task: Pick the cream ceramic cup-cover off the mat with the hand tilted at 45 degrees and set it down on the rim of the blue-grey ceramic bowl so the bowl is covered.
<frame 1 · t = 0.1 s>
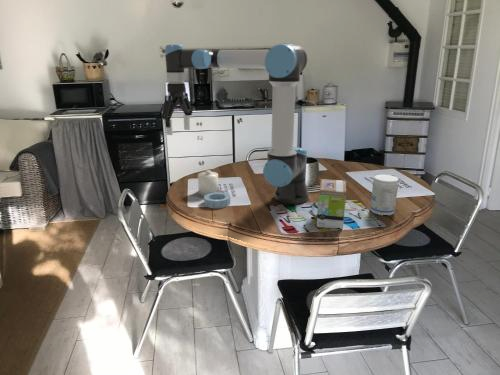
hand: (178, 132, 184), 28 cm above the table, tool pointing down, fingers open, 13 cm apart
supplement tub: (382, 212, 170), on the table
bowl: (217, 204, 177), on the table
mat: (208, 194, 190), on the table
cover: (208, 193, 189), resting on mat
tea box: (330, 221, 161), on the table
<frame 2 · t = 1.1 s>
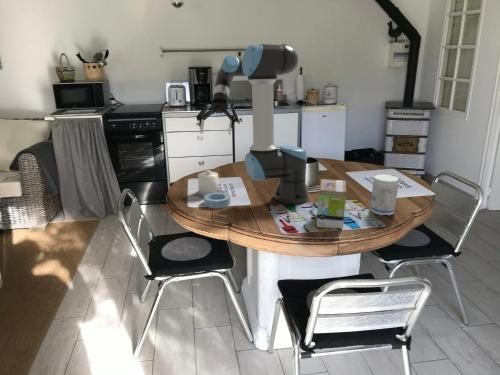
hand: (215, 132, 195), 26 cm above the table, tool tilted 45°, fingers open, 13 cm apart
nothing on the table moved.
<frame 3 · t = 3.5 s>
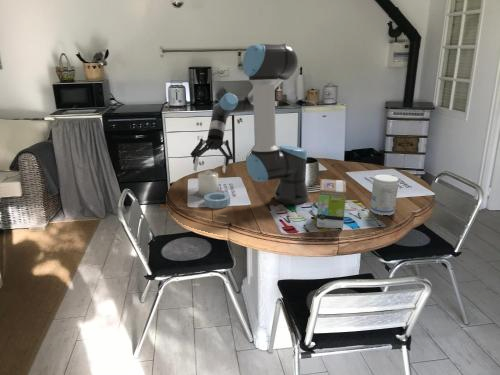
hand: (209, 170, 191), 10 cm above the table, tool tilted 45°, fingers open, 13 cm apart
nothing on the table moved.
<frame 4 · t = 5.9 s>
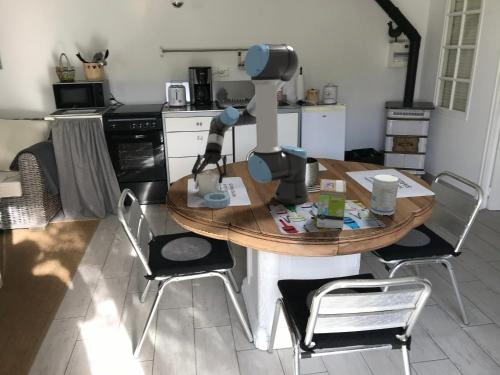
hand: (206, 188, 185), 4 cm above the table, tool tilted 45°, fingers closed on cover, 9 cm apart
cover: (208, 193, 189), resting on mat, touching gripper
everything else where it was.
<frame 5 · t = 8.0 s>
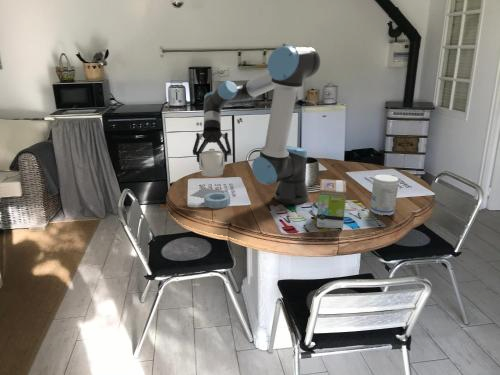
hand: (212, 168, 173), 16 cm above the table, tool tilted 45°, fingers closed on cover, 9 cm apart
cover: (212, 173, 178), point 12 cm above the table, touching gripper
everything else where it was.
when the fingers open (8 cm above the table, at t = 10.3 s): cover drops 1 cm, resting on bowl.
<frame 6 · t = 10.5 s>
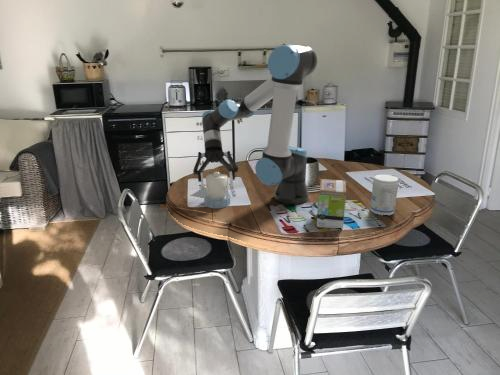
hand: (217, 187, 172), 9 cm above the table, tool tilted 45°, fingers open, 11 cm apart
cover: (217, 196, 176), point 4 cm above the table, touching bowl
everything else where it was.
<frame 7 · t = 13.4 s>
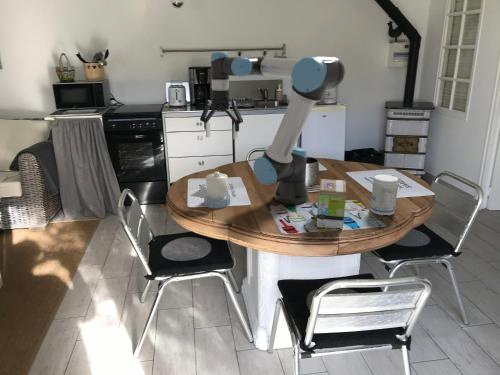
hand: (221, 137, 187), 25 cm above the table, tool pointing down, fingers open, 13 cm apart
nothing on the table moved.
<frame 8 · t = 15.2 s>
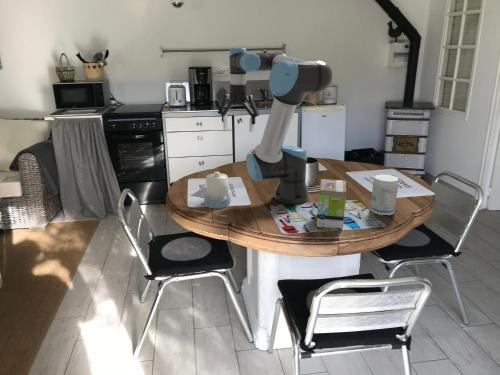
hand: (238, 130, 195), 27 cm above the table, tool pointing down, fingers open, 13 cm apart
nothing on the table moved.
at the end: cover 0.1 cm from the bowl (horizontally); cover point 3.6 cm above the table; cover tilted 0° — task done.
